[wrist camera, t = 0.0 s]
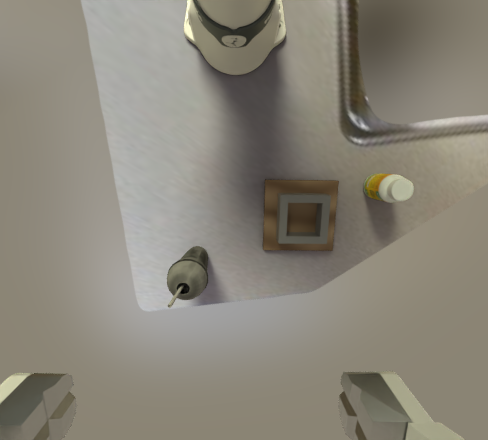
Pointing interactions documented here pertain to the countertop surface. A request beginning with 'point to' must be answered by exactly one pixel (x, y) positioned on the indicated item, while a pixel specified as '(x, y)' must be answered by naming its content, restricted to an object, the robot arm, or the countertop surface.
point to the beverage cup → (188, 275)
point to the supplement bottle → (388, 187)
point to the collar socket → (299, 214)
